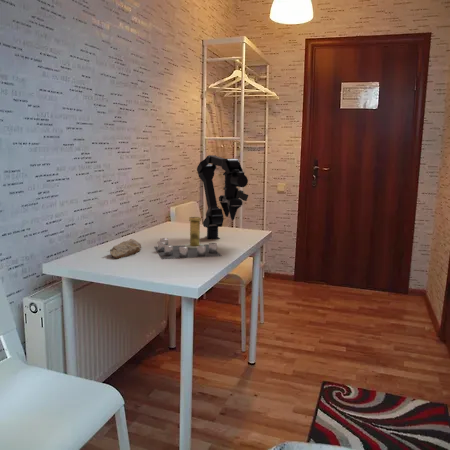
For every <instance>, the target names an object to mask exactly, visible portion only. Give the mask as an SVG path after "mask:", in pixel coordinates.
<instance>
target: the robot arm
mask: <svg viewBox="0 0 450 450" xmlns="http://www.w3.org/2000/svg"><path fill="white" fill-rule="evenodd" d="M217 166H218V167H221V169H222V170H224V172H223V173H222V175H223V176H224V187H223V188H222V189H223V190H224V195H223V194H221V195H220V196H219V197H218V202H219V204H220V206H221V208H219V206H218V203H217V198H216V191H215V186H214V182H213V181H214V180H213V178H214V177H215V171H216V169H217ZM196 171H197V175H198V177H199V179H200V180H201V181H202V183H203V189H204V194H205V199H206V205H207V210H206V213H205V218H204V220H203V222H202V225H203V228H206V236H204V238H206V239H207V240H220V239H221V237H219V227H220V228H222V227H223V224H224V215H225V217H226V218H229V215H230V219H231V220H232V221H234V220H235V218H236V214H237V211H238V209H239V208H241V207H242V206H243V201H245V202H247V200H248V197H249V194H247V193H245V192H244V190H242V189H239V188H244V187H246V186H247V185H248V182H249V180H248V177H247V175H245V172H244V171H243V168H242V165H241V162H240V161H239V159H238V158H225V157H224V158H223V157H222V156H221V157H220V156H217V155H213V154H212V155H211V154H210V155H207V156H206V157H205V158H204V159H203V160H201V161H200V162H199V164H198V165H197V167H196ZM223 213H224V214H223Z"/></svg>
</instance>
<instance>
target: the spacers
mask: <svg viewBox="0 0 450 450" xmlns="http://www.w3.org/2000/svg"><path fill="white" fill-rule="evenodd" d="M208 244H209V253H211V254H215V253H217V252H218V244H217V243H216V242H210V243H208ZM173 246H174V245H172V244H169V238H168V237H161V238H160V239H159V241H157V247H158V252H164V255H165V256H172V255H173ZM205 254H206V246H197V256H200V257H199V258H204V257H203V256H205ZM179 257H181V258H180V259H187V258H186V257H188V247H179Z"/></svg>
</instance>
